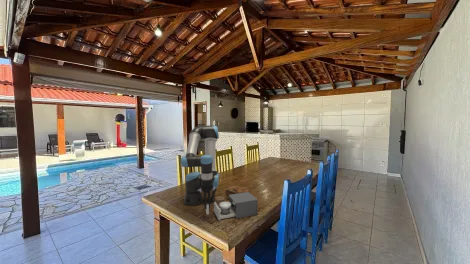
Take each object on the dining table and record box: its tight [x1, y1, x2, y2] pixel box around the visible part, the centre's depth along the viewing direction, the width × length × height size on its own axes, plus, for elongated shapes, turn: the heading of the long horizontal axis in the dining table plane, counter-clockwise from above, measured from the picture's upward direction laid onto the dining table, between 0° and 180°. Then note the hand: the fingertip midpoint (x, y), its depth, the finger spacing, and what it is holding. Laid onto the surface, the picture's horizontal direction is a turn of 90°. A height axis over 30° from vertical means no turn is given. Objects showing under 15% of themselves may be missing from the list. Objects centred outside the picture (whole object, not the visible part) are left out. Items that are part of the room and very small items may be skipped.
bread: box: [224, 184, 251, 200], centre depth 159 cm, size 19×11×10 cm, turn 58°
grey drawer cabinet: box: [228, 192, 258, 219], centre depth 137 cm, size 15×16×10 cm
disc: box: [219, 201, 231, 209], centre depth 132 cm, size 8×8×2 cm
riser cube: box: [214, 195, 226, 209], centre depth 146 cm, size 6×6×6 cm
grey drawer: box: [213, 201, 236, 221], centre depth 133 cm, size 13×16×7 cm
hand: (207, 213), depth 128 cm, fingers closed
